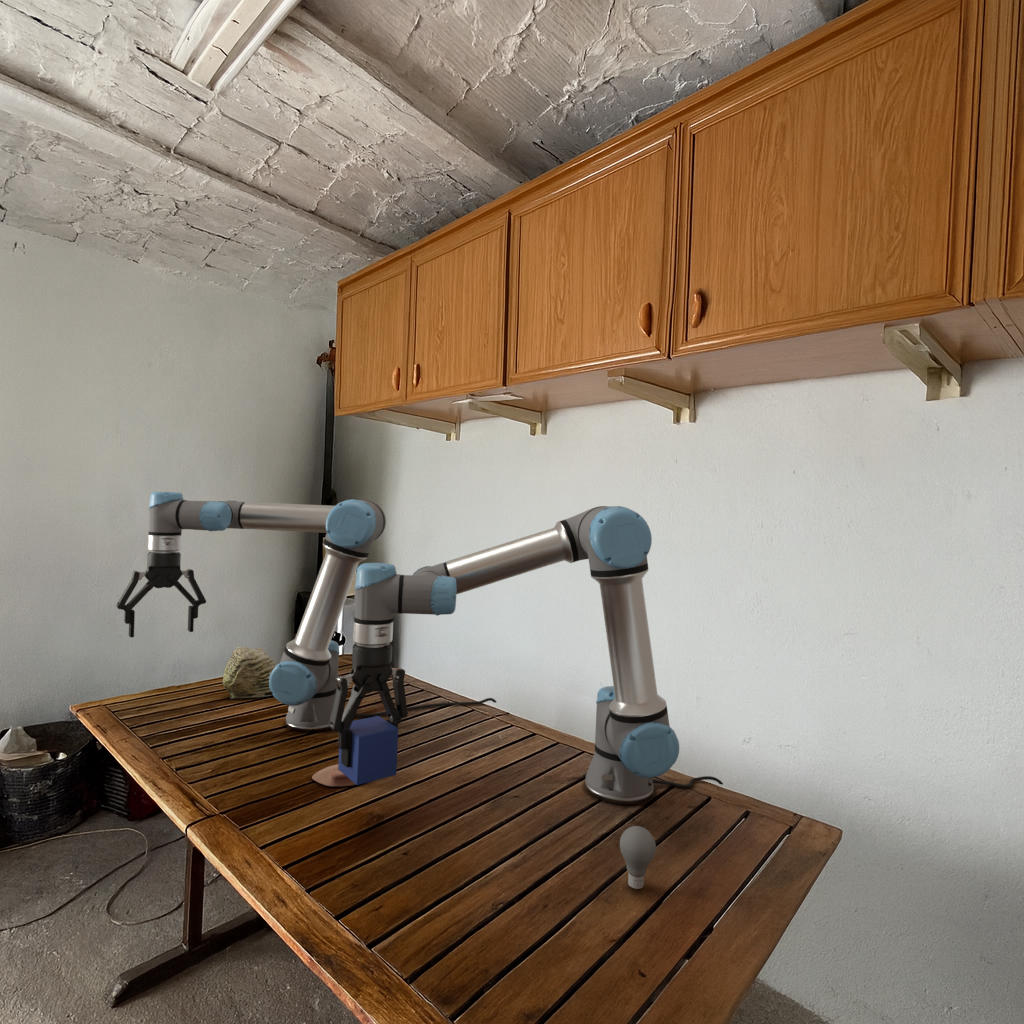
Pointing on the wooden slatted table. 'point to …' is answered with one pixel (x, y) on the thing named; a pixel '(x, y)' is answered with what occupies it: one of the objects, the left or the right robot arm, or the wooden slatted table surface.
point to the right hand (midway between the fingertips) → (367, 759)
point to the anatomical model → (332, 777)
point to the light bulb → (637, 853)
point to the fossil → (248, 673)
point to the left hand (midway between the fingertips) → (161, 633)
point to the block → (371, 750)
